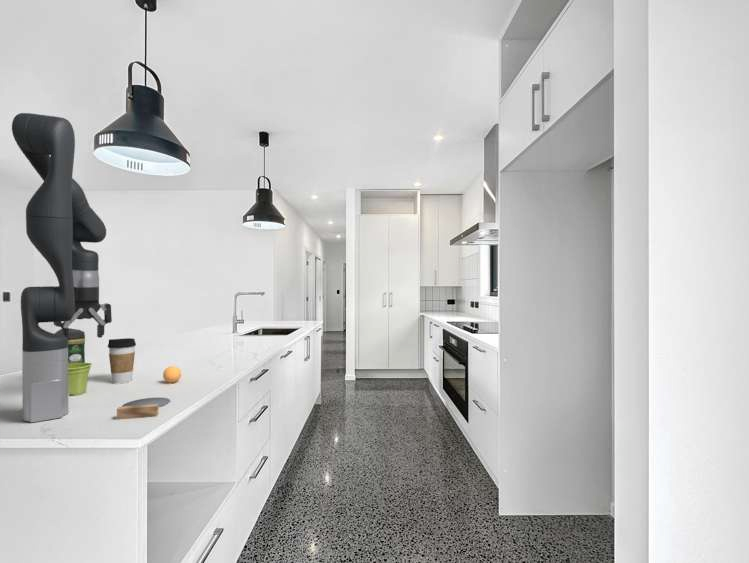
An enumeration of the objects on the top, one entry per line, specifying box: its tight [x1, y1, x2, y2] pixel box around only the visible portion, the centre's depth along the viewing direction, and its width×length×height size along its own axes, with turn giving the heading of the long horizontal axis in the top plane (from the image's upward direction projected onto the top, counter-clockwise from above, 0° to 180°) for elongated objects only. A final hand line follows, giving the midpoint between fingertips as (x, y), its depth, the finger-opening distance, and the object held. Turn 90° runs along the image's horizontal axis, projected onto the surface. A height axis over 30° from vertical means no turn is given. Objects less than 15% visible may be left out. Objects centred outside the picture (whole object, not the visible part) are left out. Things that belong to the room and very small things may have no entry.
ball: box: [162, 365, 182, 384], centre depth 142 cm, size 6×6×6 cm
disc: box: [121, 397, 171, 408], centre depth 116 cm, size 12×12×1 cm
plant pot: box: [68, 362, 93, 396], centre depth 128 cm, size 9×9×9 cm
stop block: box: [116, 404, 160, 420], centre depth 105 cm, size 9×2×3 cm, turn 104°
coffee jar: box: [54, 327, 86, 364], centre depth 144 cm, size 10×8×19 cm
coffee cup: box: [107, 337, 137, 384], centre depth 143 cm, size 8×8×15 cm
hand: (83, 338), depth 125 cm, fingers open, 8 cm apart
